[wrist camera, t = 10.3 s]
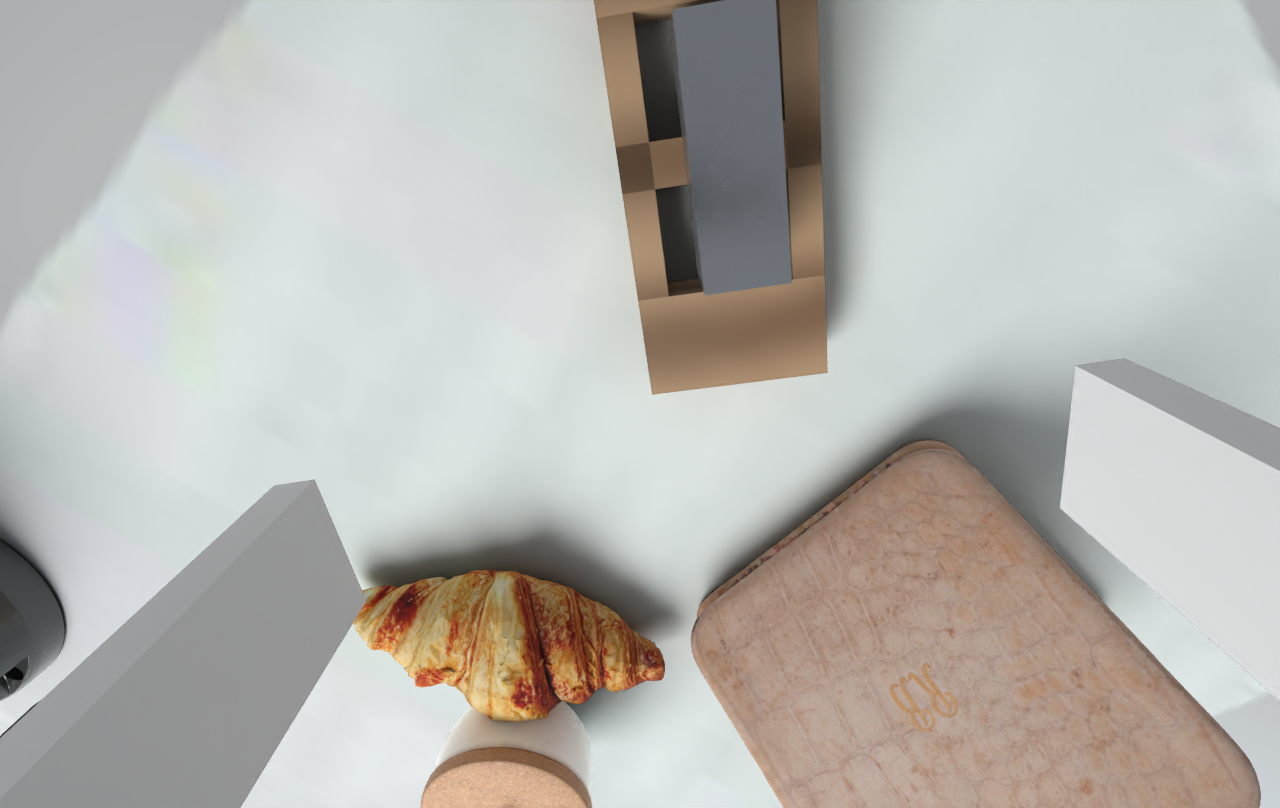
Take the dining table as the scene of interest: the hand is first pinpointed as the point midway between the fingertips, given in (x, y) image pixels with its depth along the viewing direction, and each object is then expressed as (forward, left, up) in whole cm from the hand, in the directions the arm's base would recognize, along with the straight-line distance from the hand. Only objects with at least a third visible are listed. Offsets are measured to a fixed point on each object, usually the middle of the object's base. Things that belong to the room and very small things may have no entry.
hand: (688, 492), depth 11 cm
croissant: (-13, -22, -24) cm, 35 cm away
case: (+12, -25, -24) cm, 37 cm away
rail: (+3, +5, -24) cm, 24 cm away
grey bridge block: (+3, +5, -23) cm, 24 cm away
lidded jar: (-14, -31, -24) cm, 42 cm away
